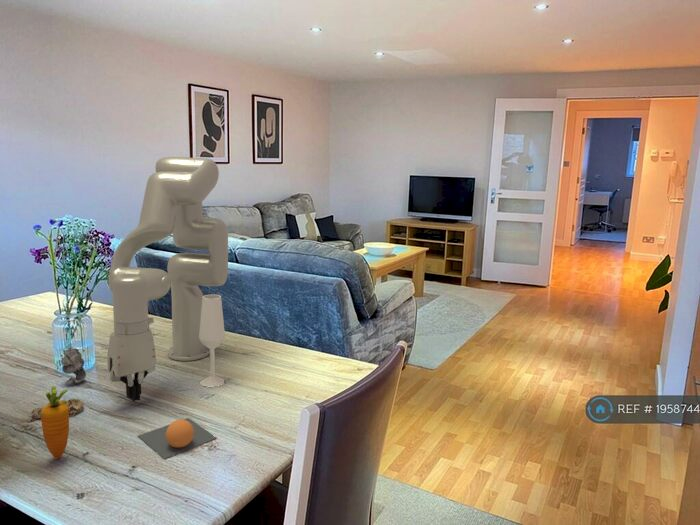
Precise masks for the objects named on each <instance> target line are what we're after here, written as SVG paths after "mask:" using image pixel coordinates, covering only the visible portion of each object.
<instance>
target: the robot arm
mask: <svg viewBox="0 0 700 525" xmlns="http://www.w3.org/2000/svg"><path fill="white" fill-rule="evenodd" d="M219 175H220V172H219V167H218V165H217V163H216V162H215V161H214V160H213V159H211V158H205V157H186V156H166V157H162V158H159V159H158V160H157V161H156V162H155V172H154V173H152V174H151V175H149V177H148V179H147V182H146V186H145V190H144V197H143V201H142V205H141V210H140V215H139V221H138V225H137V226H136V227H135V228H134V229H133V230H131V231H130V233H128V234H127V235H126V236H125V237H124V239H123V240H122V241H121V242H120V243H119V244H118V246H117V247H116V249H115V250H114V252H113V256H112V259H111V263H110V268H109V274H108V287H109V290H110V292H111V294H112V310H113V314H112V315H113V332H111V333H110V335H109V338H108V339H109V340H108V346H107V347H108V348H107V370H108V372H110V375H109V380H110V381H111V382H114V383H116V382H118V383H119V382H122V383H123V384H125V388H126V390H125V391H126V393H125V394H126V397H127V398H128V399H129V400H131V402H133V403H134V402H136V401H141V395H142V384H143V383H144V379H146V377H147V375H148V374H151V373H153V372H156V369H157V368H156V364H157V358H156V357H157V356H156V345H155V340H154V336H153V335H154V334H153V332H152V329H151V328H150V325H151V324H154V323H155V322H154V318H153V317H149V302H150V301H154V300H159V299H161V298H163V297H165V295H167V294H168V292H169V291H171V292H170V293H171V296H170V297H171V325H172V326H171V329H172V330H171V332H172V333H171V335H172V347H171V348H169V349H167V353H166V354H167V357H168V358H169V359H171V360H175V361H179V362H180V361H182V362H187V361H188V362H189V361H190V362H191V361H196V360H201V359H204V358H206V357H208V356H210V349H209V348H207V347H206V346H205V345H204V344H203V343H202V342H201V341H200V339H199V331H200V320H201V309H202V297H203V296H204V294H203V292H202V290H201V288H200V286H203V287H220V286H223V285H224V284H225V283H226V281H227V279H228V274H229V273H228V272H229V233H228V228H227V224H226V223H225V222H224V220H222V219H220V218H215V217H204V215H203V201H205V200H206V199H207V197H208V196H209V195H210V193H212V191H213V190H214V188H215V187H216V185H217V183H218V180H219ZM170 236H172V241H173V244H174V245H175V246H176V247H177V248H181V249H187V250H200V251H201V250H204V251H209V252H208V253H209V254H208V253H198V252H197V253H194V252H179V253H176V254H174V255H172V256H171V257H170V258H169V260H168V261H167V271H165V270H164V269H160V268H154V267H153V268H150V267H149V268H148V267H140V266H139V267H137V266H136V267H135V266H131V263H132V260H133V259H134V257H135V255H136V254H137V253H138V252H139V251H140V250H142V249H144V248H145V247H147V246H148V245H152V244H153V243H156V242H158V241H161V240H163V239H167V238H169V237H170Z"/></svg>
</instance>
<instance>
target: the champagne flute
mask: <svg viewBox="0 0 700 525" xmlns="http://www.w3.org/2000/svg"><path fill="white" fill-rule="evenodd" d="M223 312H224V310H223V302H222V296H221V295H220V294H205V295H203V297H202V309H201V320H200V331H199V339H200V341H201V342H202V343H203V344H204V345H205V346H206V347H207V348H209V349H210V354H209V374H210V375H209V376H207V377H206V378H204V379H202V380H200V382H201V384H202V385H203V386H210V387H211V386H218V385H221V384H223V383H224V380H225V379H224V378H222V377H219V376H217V375H216V374H215V373H216V372H215V368H216V367H215V366H216V365H215V364H216V363H215V358H216V357H215V349H216V348H218V347H219V346H220V345H221V344H222V343H223V342H224V340H225V338H226V333H225V332H226V331H225V322H224V313H223ZM223 379H224V380H223ZM224 384H225V383H224ZM224 384H223V385H224ZM203 386H202V387H203ZM221 386H222V385H221Z"/></svg>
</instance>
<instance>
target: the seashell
mask: <svg viewBox="0 0 700 525" xmlns="http://www.w3.org/2000/svg"><path fill="white" fill-rule="evenodd" d="M60 363H61V365H62V368H61V369H62V372H63V373H65V374H71V373H72V374H74V375H75V378H74V377H70V378H69V379H68V380H67V381H66V382H65V384H66V385H74V384H77V383H81V382H83V381H84V379H86V378H87V373H86V370H85V368H84V365H85V361H84V358H82V354H81V352H80V351H79V349H78V348H74V347H73V346H71V347H70V348H68V349H65V351H64V357H62V358H61V360H60Z"/></svg>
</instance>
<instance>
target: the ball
mask: <svg viewBox="0 0 700 525" xmlns="http://www.w3.org/2000/svg"><path fill="white" fill-rule="evenodd" d="M168 425H169V427H168V428H167V431H166V439H167V442H168V443H169V444H170V445H171V446H173V447H176V448H182V447H184V446H186V445H188V444H189V443H190V442H191V440H192V439H193V436H194V429H193V426H192V425H191V423H189V422H188V421H186V420H184V419H177V420H176V419H175V420H174V421H172V422H171V423H170V424H168Z"/></svg>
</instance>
